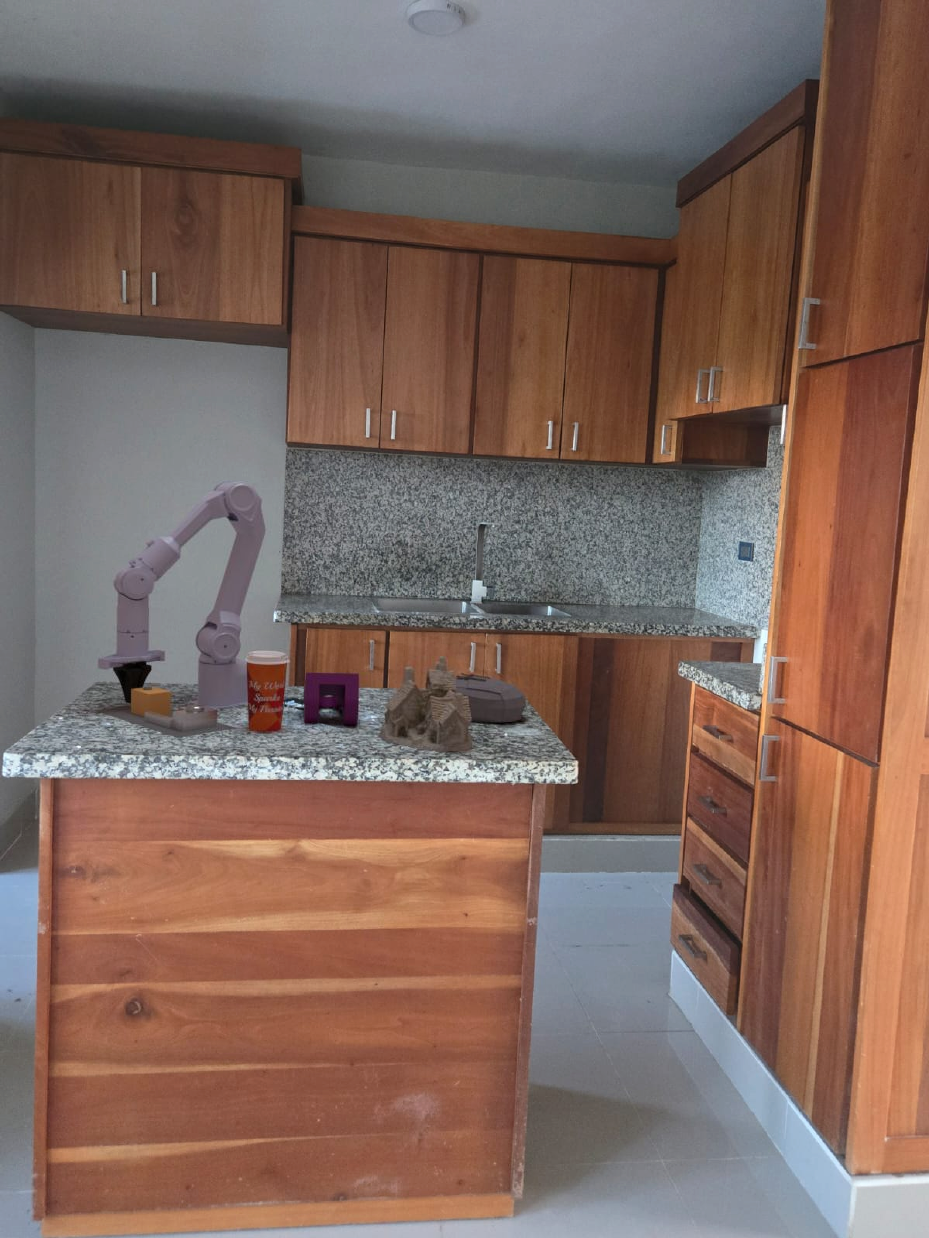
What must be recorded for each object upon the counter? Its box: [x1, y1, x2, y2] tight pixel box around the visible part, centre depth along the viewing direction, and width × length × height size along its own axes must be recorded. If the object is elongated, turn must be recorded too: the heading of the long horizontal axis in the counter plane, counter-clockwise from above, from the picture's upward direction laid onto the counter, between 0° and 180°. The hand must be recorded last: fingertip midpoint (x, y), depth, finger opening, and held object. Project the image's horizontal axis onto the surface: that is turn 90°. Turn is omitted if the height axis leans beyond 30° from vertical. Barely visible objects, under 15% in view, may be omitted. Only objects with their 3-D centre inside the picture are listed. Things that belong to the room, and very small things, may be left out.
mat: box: [94, 704, 236, 738], centre depth 181 cm, size 12×27×1 cm, turn 49°
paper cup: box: [244, 650, 291, 733], centre depth 177 cm, size 8×8×14 cm
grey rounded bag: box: [454, 672, 527, 724], centre depth 200 cm, size 15×8×20 cm
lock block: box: [130, 686, 172, 717], centre depth 184 cm, size 4×6×5 cm
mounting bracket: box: [303, 672, 360, 726], centre depth 192 cm, size 10×9×19 cm
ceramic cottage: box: [378, 656, 473, 753], centre depth 176 cm, size 16×16×15 cm
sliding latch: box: [145, 703, 218, 732], centre depth 178 cm, size 8×11×4 cm
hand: (131, 702), depth 189 cm, fingers closed
